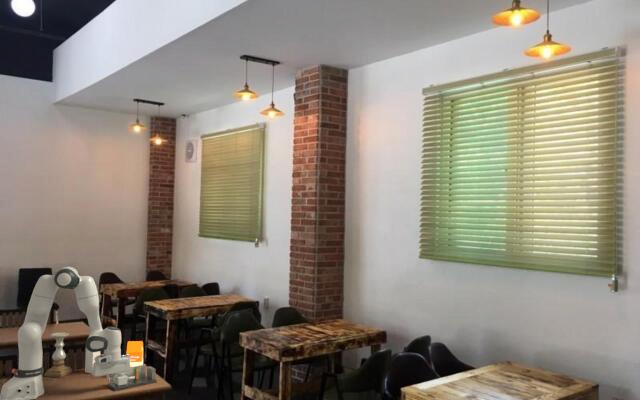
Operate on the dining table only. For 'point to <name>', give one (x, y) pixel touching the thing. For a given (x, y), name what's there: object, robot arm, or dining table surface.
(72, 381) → the dining table surface
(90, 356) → the milk
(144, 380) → the bench
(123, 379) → the white block
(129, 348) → the orange juice
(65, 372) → the candle holder
